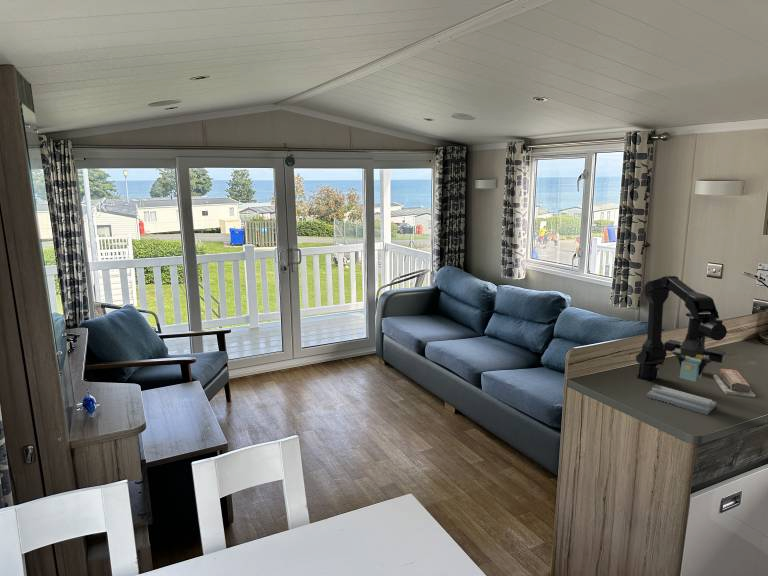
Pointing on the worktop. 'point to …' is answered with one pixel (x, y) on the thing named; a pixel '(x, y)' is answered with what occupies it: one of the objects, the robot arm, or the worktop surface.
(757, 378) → the worktop surface
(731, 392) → the packaged product
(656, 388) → the din rail
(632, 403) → the worktop surface
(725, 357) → the robot arm
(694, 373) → the block
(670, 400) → the plate
